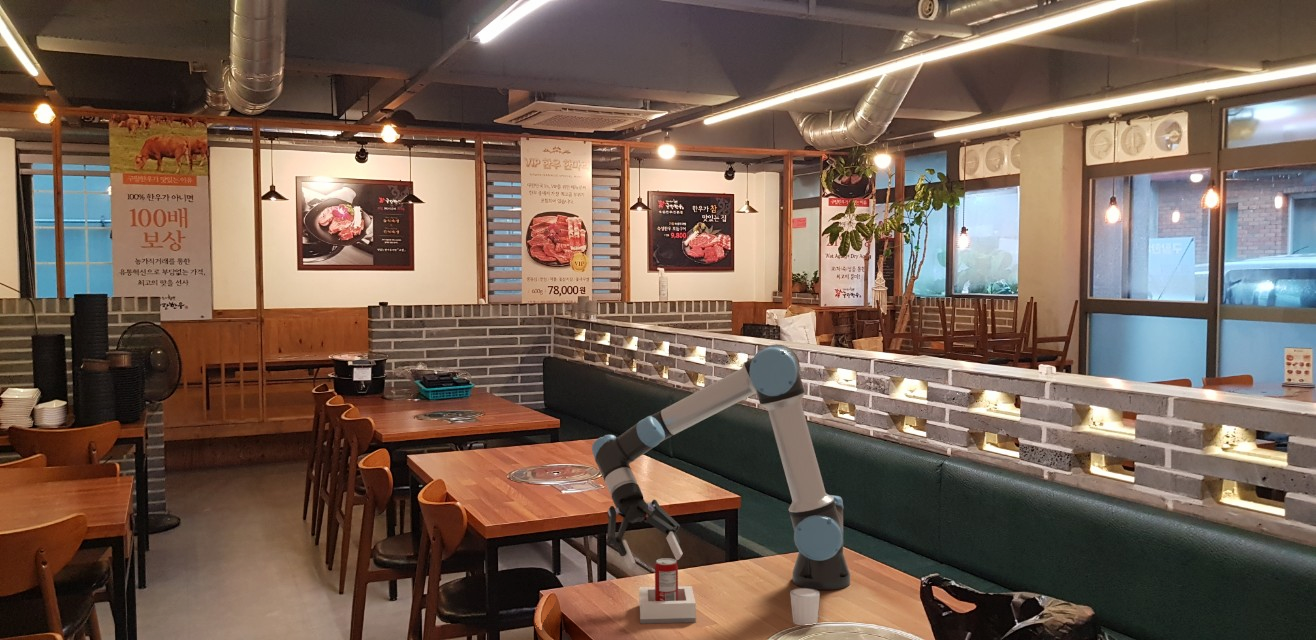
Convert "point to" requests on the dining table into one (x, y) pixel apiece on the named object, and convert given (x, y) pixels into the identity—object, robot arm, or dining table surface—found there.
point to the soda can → (666, 580)
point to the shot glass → (804, 605)
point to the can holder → (667, 606)
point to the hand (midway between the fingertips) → (656, 561)
